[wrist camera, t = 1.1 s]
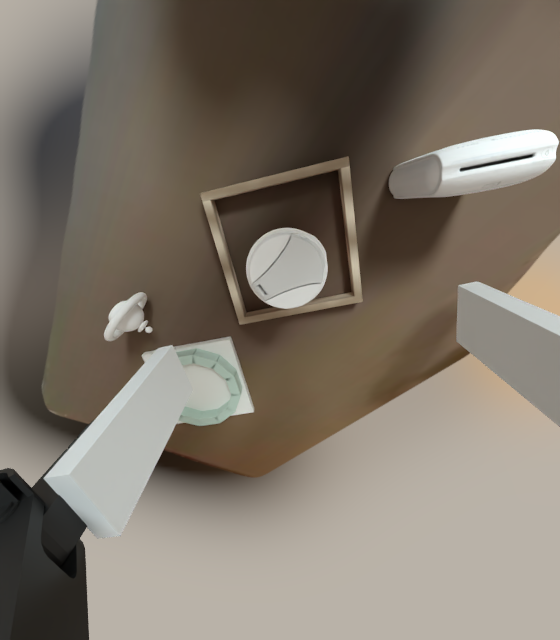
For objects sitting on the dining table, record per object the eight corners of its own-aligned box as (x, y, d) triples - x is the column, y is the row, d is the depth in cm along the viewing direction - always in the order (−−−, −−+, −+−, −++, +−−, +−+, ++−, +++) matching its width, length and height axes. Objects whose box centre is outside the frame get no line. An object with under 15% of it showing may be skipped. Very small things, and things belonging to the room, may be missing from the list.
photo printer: (476, 146, 31) (583, 114, 20) (472, 186, 33) (569, 177, 22) (387, 164, 32) (441, 143, 21) (387, 202, 34) (438, 202, 23)
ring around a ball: (141, 278, 39) (108, 296, 31) (175, 301, 40) (151, 323, 33) (119, 318, 41) (83, 343, 34) (152, 337, 43) (125, 365, 35)
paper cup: (279, 286, 39) (276, 327, 26) (247, 241, 36) (226, 262, 23) (326, 255, 37) (346, 284, 24) (295, 206, 34) (300, 208, 22)
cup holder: (144, 352, 44) (134, 362, 41) (231, 336, 42) (227, 345, 39) (177, 420, 50) (170, 432, 47) (254, 408, 48) (252, 420, 45)
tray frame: (204, 193, 34) (199, 193, 32) (345, 158, 32) (348, 156, 30) (241, 319, 41) (239, 324, 39) (359, 297, 39) (362, 301, 37)
